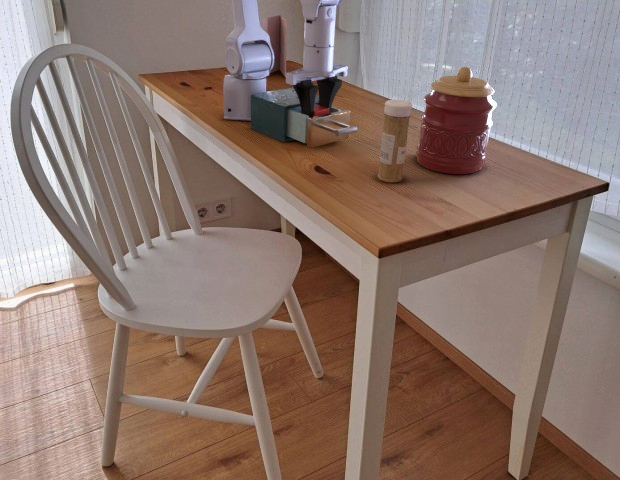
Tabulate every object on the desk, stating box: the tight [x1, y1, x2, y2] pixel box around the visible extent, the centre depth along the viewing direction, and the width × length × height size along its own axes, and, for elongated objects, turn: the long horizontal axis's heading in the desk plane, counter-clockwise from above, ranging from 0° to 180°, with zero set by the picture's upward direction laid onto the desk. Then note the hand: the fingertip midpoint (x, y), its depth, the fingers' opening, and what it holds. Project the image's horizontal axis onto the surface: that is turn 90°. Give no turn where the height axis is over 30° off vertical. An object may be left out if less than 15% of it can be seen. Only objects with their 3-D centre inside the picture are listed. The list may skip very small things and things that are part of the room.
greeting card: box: [261, 14, 288, 78], centre depth 170 cm, size 11×7×15 cm, turn 157°
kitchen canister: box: [416, 66, 497, 175], centre depth 109 cm, size 13×13×18 cm
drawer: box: [286, 103, 358, 149], centre depth 119 cm, size 15×10×6 cm
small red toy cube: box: [301, 104, 329, 117], centre depth 120 cm, size 4×4×3 cm
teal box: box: [250, 87, 319, 143], centre depth 125 cm, size 11×12×7 cm
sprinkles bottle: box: [377, 99, 413, 184], centre depth 102 cm, size 5×5×13 cm
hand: (315, 117), depth 119 cm, fingers closed on small red toy cube, 4 cm apart
